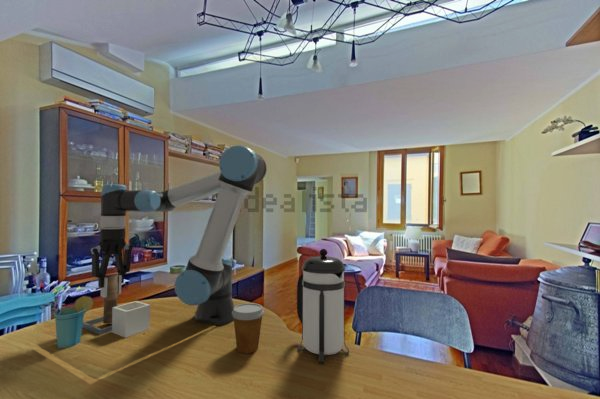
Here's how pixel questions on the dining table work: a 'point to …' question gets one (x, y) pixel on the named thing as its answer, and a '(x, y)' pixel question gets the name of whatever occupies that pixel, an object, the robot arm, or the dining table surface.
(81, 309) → the cup
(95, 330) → the tray
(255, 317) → the disposable coffee cup
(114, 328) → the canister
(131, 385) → the dining table surface
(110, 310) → the dowel
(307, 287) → the coffee press
